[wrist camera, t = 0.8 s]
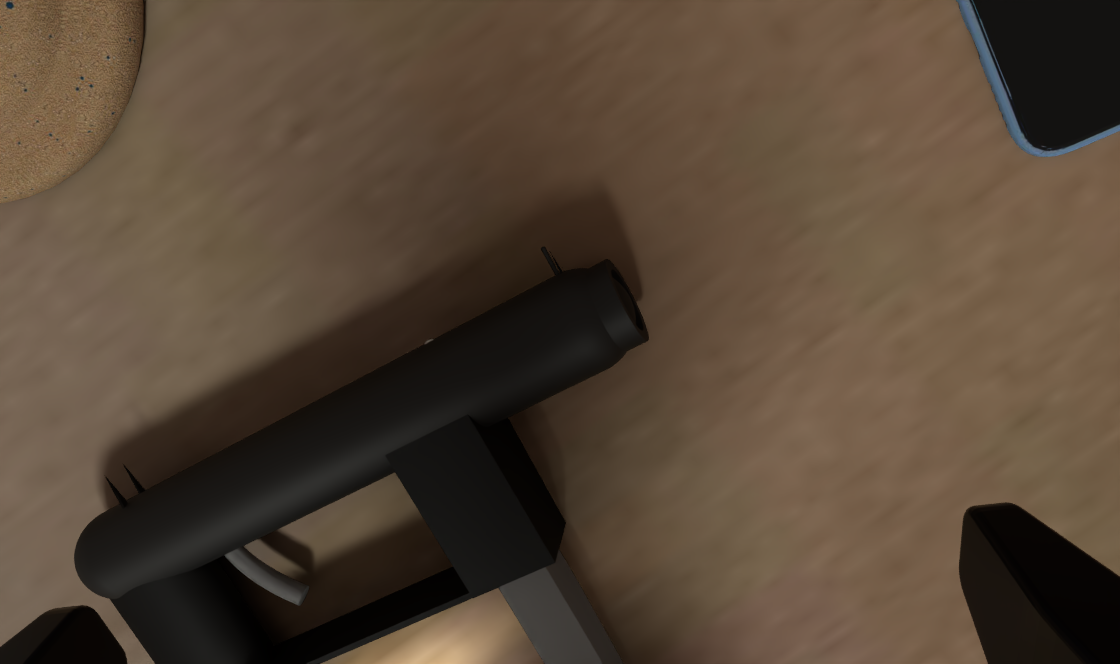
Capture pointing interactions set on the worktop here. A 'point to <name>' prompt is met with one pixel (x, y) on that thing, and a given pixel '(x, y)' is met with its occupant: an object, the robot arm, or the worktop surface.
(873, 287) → the worktop surface
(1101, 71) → the smartphone
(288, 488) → the door handle
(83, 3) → the candle holder
